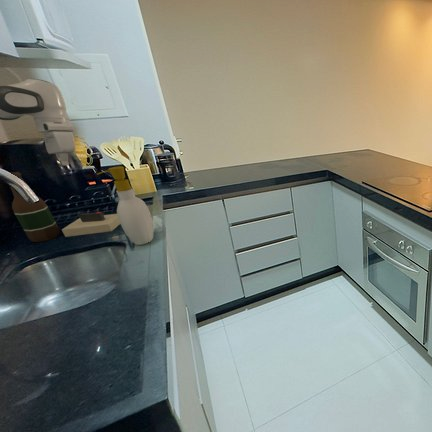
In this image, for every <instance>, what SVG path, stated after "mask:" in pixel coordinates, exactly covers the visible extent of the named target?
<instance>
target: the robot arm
mask: <svg viewBox="0 0 432 432" xmlns="http://www.w3.org/2000/svg"><path fill="white" fill-rule="evenodd" d="M23 116H31V117H33V120H34V124H35V128H36V131H37V133H40V134H41V133H42V134H43V140H44V144H45V148H46V152H47V153H48V154H49V155H55V156H56V159H57V160H58V163H59V165H60V166H61V167H62V166H63V167H64V166H69V165H70V163H69V153H74V152H76V142H75V137H74V131H75V128H74V125H73V124H71V121H70V118H69V116H68V114H67V106H66V103H65V100H64V97H63V94H62V92H61V90H60V89H59V87H58V86H57V85H56V84H55V83H52V82H50V81H47V80H44V79H37V78H27V79H25V80H23V81H20V82H17V83H13V84H6V85H5V84H4V85H0V120H1V121H15V120H18V119H20V118H21V117H23Z"/></svg>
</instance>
